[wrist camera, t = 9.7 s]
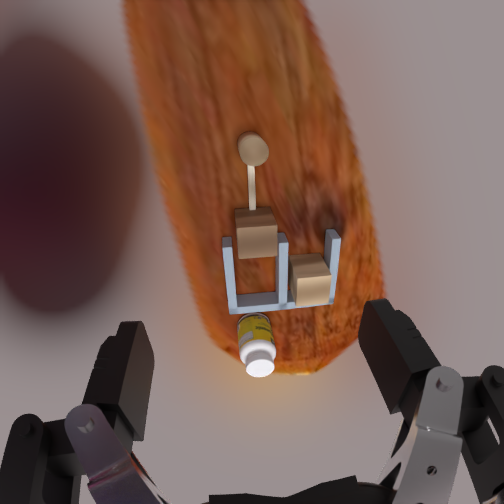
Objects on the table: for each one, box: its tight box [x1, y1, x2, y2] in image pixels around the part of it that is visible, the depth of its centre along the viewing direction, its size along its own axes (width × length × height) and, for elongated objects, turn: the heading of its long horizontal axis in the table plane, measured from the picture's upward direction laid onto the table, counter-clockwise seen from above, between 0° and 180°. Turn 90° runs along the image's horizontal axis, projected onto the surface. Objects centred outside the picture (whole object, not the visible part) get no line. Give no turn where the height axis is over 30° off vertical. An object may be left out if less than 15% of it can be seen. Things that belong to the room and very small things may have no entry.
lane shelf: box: [222, 229, 341, 314], centre depth 44 cm, size 11×16×3 cm
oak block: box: [288, 253, 332, 307], centre depth 43 cm, size 5×5×6 cm
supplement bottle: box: [237, 313, 276, 377], centre depth 46 cm, size 5×5×10 cm
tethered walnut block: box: [235, 131, 277, 259], centre depth 37 cm, size 14×5×6 cm, turn 2°
